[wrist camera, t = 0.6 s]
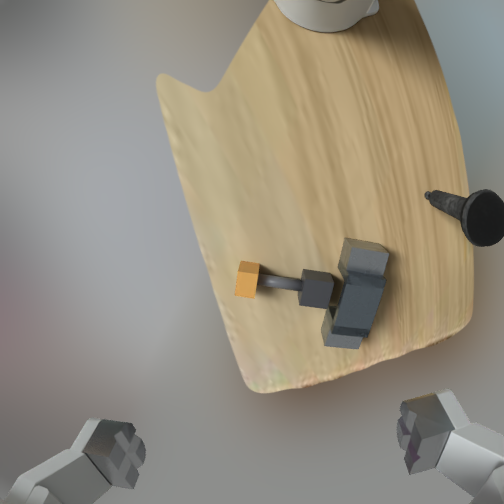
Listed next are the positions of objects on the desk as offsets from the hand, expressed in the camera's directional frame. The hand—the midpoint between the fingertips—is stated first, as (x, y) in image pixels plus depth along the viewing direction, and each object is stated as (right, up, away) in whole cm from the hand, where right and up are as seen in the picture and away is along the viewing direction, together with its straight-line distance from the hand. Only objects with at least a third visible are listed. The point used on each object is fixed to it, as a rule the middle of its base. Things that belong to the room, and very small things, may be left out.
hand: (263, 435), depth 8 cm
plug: (+5, +1, +44) cm, 44 cm away
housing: (+16, -1, +43) cm, 46 cm away
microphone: (+28, +15, +38) cm, 49 cm away
